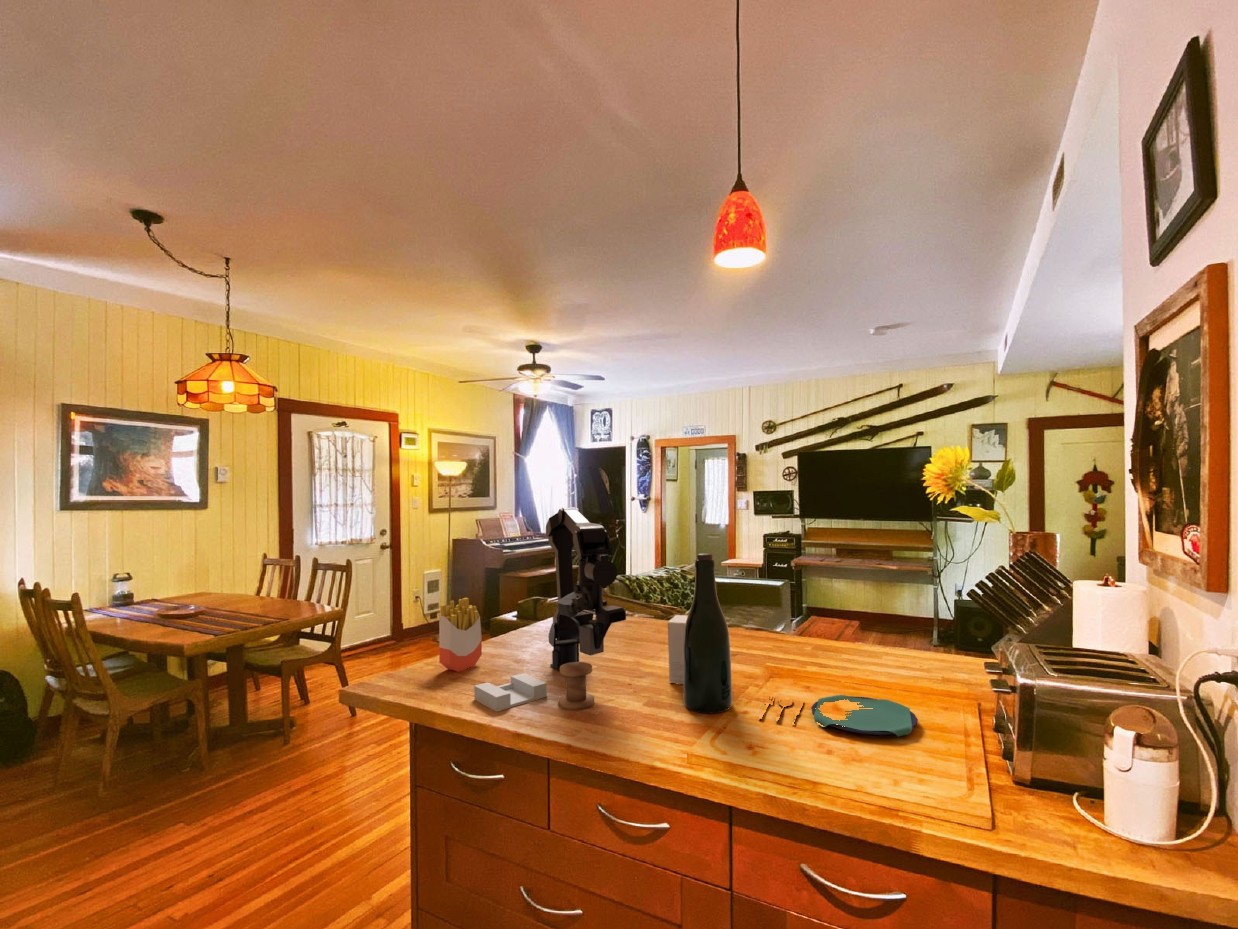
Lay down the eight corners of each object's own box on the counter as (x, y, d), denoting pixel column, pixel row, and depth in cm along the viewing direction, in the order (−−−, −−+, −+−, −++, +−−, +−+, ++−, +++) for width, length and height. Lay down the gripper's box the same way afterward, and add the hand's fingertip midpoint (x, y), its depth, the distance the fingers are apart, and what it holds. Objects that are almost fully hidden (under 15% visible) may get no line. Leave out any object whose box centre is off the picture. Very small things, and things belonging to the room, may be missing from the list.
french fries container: (482, 664, 159) (482, 598, 160) (450, 675, 150) (450, 604, 151) (471, 661, 161) (471, 596, 162) (439, 672, 153) (439, 603, 153)
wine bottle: (702, 718, 119) (698, 557, 120) (674, 702, 128) (671, 552, 130) (742, 709, 124) (738, 554, 125) (712, 694, 133) (709, 549, 135)
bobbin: (579, 694, 134) (579, 659, 135) (601, 703, 128) (601, 667, 129) (551, 703, 129) (550, 666, 129) (572, 713, 123) (572, 675, 123)
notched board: (523, 686, 141) (523, 673, 141) (546, 696, 133) (546, 683, 133) (474, 699, 132) (474, 685, 132) (496, 711, 125) (496, 697, 125)
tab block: (592, 648, 138) (592, 623, 138) (603, 652, 135) (603, 626, 135) (579, 652, 135) (579, 626, 135) (590, 655, 132) (589, 629, 132)
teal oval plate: (921, 750, 104) (920, 737, 104) (753, 727, 116) (753, 715, 116) (915, 711, 122) (914, 700, 122) (770, 695, 134) (770, 685, 134)
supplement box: (711, 675, 146) (710, 616, 147) (705, 687, 138) (703, 624, 138) (676, 672, 149) (675, 614, 150) (668, 684, 140) (666, 621, 141)
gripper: (539, 579, 137) (540, 645, 137) (588, 589, 123) (589, 663, 123) (577, 573, 145) (577, 636, 144) (627, 582, 131) (628, 652, 130)
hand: (591, 646), depth 135 cm, fingers closed on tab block, 4 cm apart
